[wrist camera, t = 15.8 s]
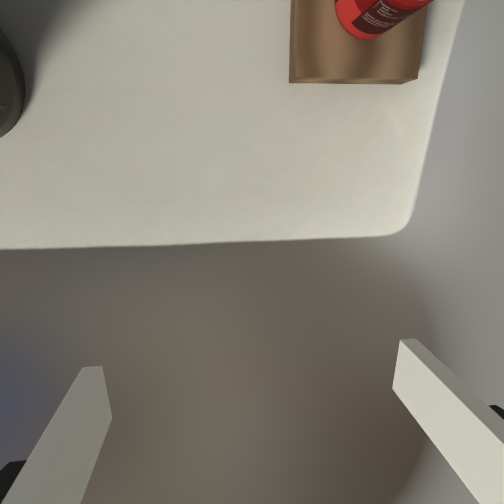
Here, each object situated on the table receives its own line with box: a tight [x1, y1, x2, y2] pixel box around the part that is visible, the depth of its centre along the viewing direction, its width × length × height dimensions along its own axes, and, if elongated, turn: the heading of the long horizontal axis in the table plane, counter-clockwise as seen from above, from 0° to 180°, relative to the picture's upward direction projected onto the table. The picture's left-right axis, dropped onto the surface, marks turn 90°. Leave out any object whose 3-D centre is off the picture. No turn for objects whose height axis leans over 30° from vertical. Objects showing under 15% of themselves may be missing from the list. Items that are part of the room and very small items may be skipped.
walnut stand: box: [289, 0, 428, 84], centre depth 36 cm, size 15×15×4 cm
